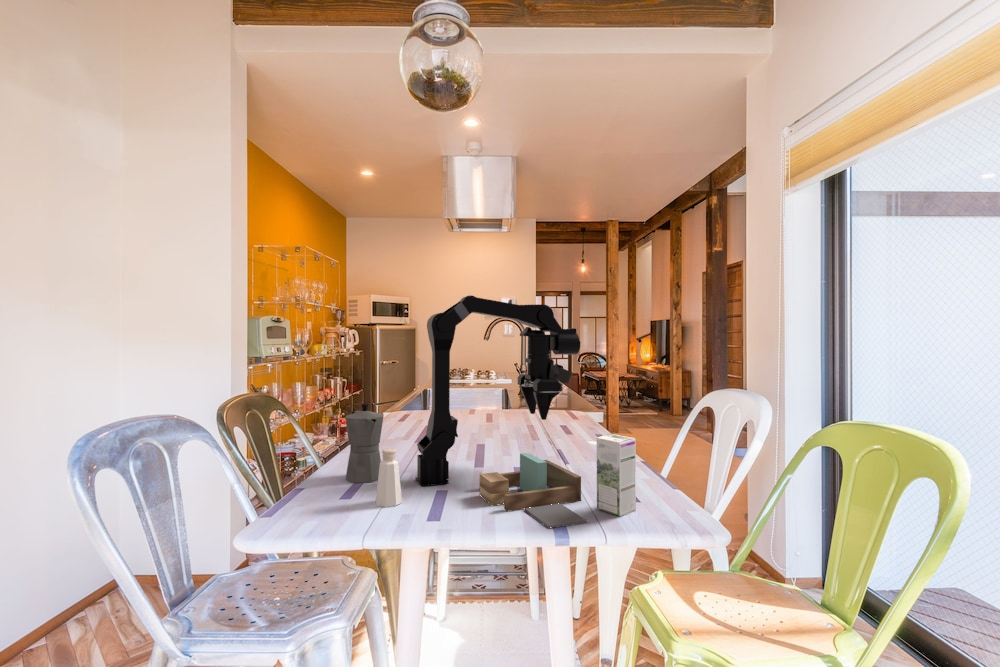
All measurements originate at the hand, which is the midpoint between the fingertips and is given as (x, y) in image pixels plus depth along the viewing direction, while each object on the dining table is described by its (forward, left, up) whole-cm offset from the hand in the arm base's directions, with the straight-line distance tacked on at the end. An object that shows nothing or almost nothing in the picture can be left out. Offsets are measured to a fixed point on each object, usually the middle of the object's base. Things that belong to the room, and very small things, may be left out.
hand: (538, 416), depth 126 cm
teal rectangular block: (-9, -15, -14) cm, 22 cm away
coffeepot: (-41, +12, -14) cm, 45 cm away
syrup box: (+2, -30, -14) cm, 33 cm away
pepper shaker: (-39, -9, -14) cm, 42 cm away
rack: (-10, -15, -14) cm, 23 cm away
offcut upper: (-18, -15, -12) cm, 26 cm away
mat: (-11, -28, -14) cm, 33 cm away
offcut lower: (-18, -15, -14) cm, 27 cm away
